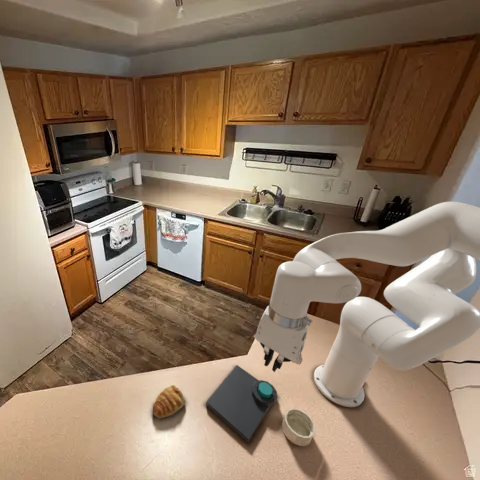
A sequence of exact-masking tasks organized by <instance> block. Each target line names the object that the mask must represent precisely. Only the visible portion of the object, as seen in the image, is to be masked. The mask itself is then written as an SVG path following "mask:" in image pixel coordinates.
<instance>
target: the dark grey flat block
mask: <svg viewBox="0 0 480 480" xmlns="http://www.w3.org/2000/svg"><path fill="white" fill-rule="evenodd" d="M262 382H265V383H268V384H269V385H270V386H271V387H272V394H271V397H270V398H263V397H261V396H260V395H259V393H258V387H259V384H260V383H262ZM215 389H216V390H215V391H214V392H213V393H212V394H211V396H210V397H209V398H208V399H207V401H206V403H205V406H206V407H207V408H208V409H210V410H211V411H212V412H213V414H215V415H216V417H218V418H219V419H220V420H222V421H223V422H224V423H225V424H226V425H227V426H228V427H230V428H231V429H232V430H233V431H234V432H235V433H236V434H237V435H238V436H239V437H241V438H242V439H243V440H244V441H245V442H246V443H247V444H249V442H250V441H251V439H252V437H253V436H254V434H255V432H256V431H257V429H258V427H259V426H260V424H261V422H262V421H263V420H264V417H265V416H266V415H267V413H268V411H269V409H270V408H271V407H272V406H274V405H275V404H276V402H277V400H278V391H277V390H276V388H275V386H274V385H273V384H272V383H270V382H268V381H267V380H262V379H260V380H259V379H257V378H256V377H255V376H254V375H252V374H250V373H249V372H248V371H247V370H244V369H243V368H242V367H240V366H239V365H238V364H236V365H235V366H234V368H232V370H231V371H230V372H229V374H228V375H227V376H226V377H225V378H224V379H223V381H222V382H221V383H220V384H219V386H218V387H217V388H215Z"/></svg>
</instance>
